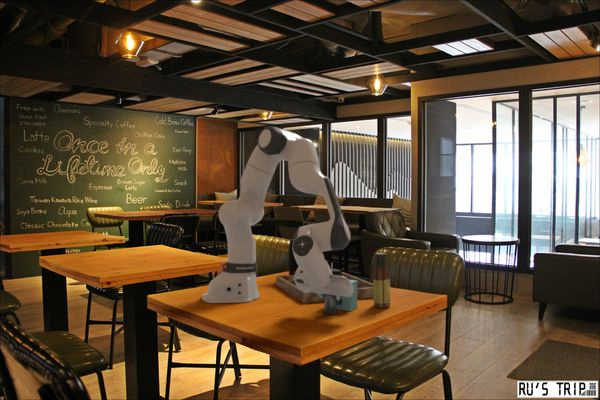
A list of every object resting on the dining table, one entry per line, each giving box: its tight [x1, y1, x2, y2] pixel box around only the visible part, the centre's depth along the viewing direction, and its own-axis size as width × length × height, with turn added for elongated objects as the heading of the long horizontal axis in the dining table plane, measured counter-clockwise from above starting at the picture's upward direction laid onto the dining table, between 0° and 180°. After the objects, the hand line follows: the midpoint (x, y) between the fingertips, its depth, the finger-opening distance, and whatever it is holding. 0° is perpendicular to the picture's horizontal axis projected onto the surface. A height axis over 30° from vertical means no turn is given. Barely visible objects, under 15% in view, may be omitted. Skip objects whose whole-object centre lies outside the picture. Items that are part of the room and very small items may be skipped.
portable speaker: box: [288, 238, 299, 275], centre depth 226 cm, size 9×9×20 cm
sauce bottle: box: [372, 252, 391, 309], centre depth 179 cm, size 6×6×20 cm
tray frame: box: [275, 271, 373, 304], centre depth 205 cm, size 33×35×4 cm
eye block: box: [336, 280, 358, 312], centre depth 177 cm, size 6×10×10 cm, turn 60°
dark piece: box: [323, 294, 342, 316], centre depth 173 cm, size 16×4×11 cm, turn 150°
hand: (330, 297), depth 169 cm, fingers closed on dark piece, 4 cm apart
